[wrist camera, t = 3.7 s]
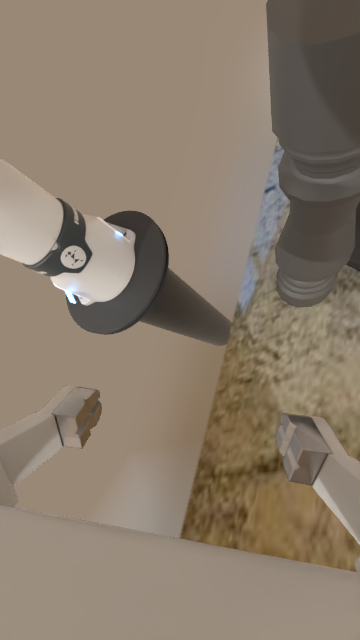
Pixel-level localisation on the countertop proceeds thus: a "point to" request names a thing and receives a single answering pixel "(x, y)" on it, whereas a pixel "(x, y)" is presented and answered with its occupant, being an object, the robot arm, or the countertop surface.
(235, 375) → the countertop surface
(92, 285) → the robot arm
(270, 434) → the countertop surface
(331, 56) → the candle holder
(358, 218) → the display stand
